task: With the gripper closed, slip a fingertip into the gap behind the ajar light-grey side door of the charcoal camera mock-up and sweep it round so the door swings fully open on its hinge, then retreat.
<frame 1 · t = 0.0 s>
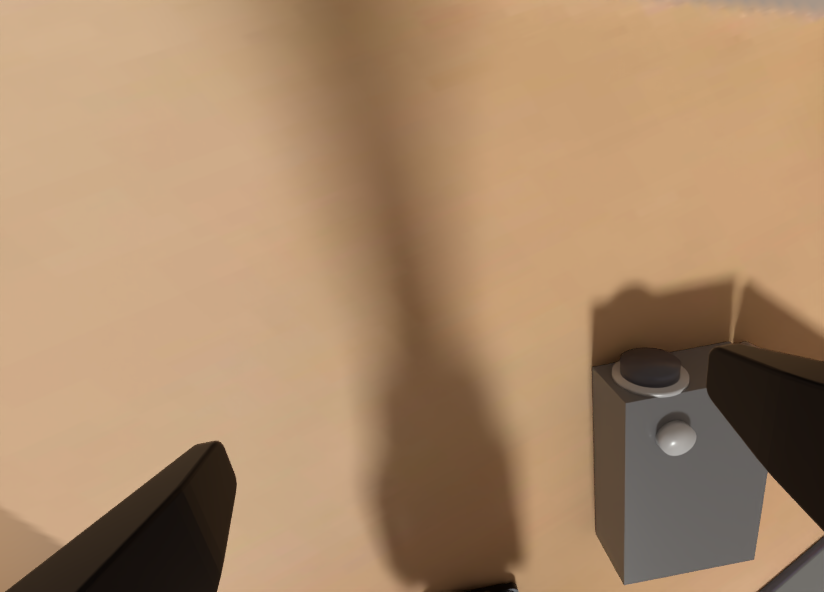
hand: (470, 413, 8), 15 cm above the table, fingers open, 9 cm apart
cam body: (656, 445, 28), on the table
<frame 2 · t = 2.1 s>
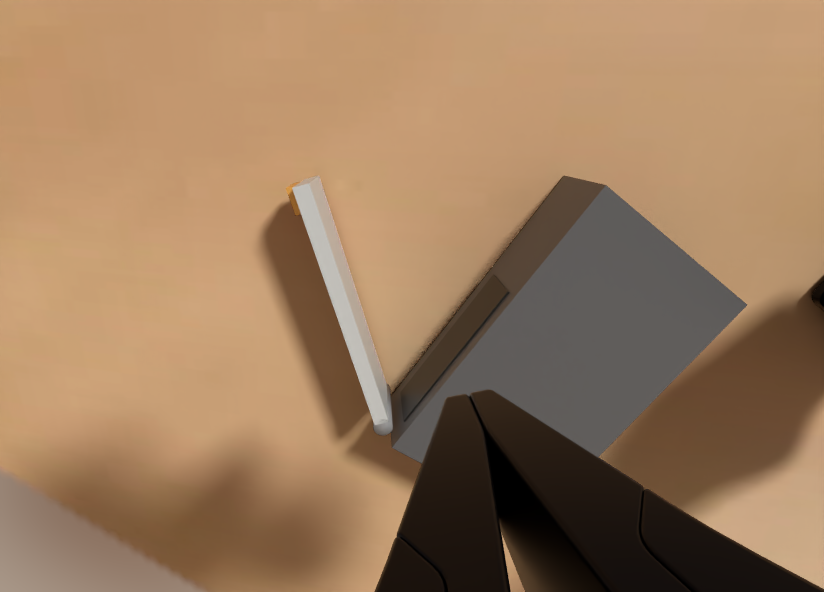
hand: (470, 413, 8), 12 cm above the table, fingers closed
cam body: (534, 339, 21), on the table
side door: (346, 310, 18), point 2 cm above the table, hinge at 50.0°
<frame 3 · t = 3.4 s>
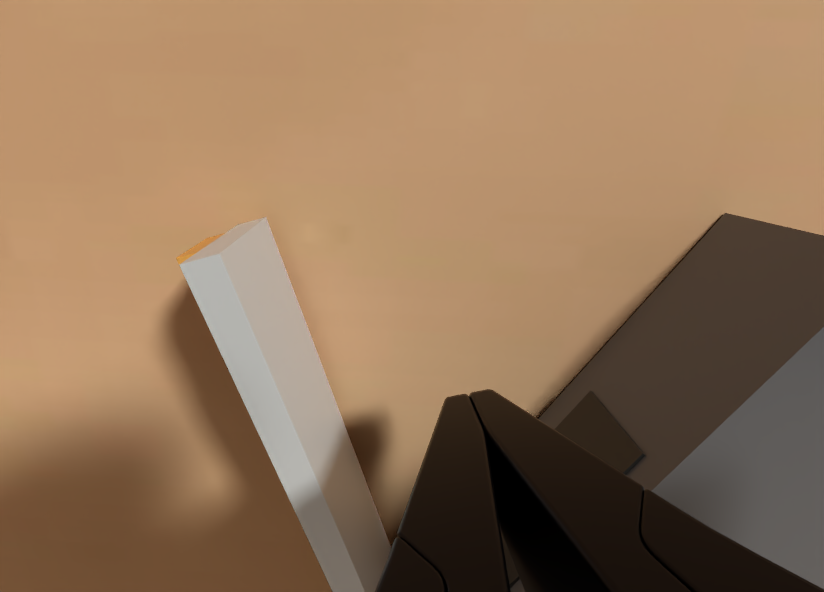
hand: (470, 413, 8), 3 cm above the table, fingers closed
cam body: (642, 480, 13), on the table
side door: (321, 471, 10), point 2 cm above the table, hinge at 50.0°
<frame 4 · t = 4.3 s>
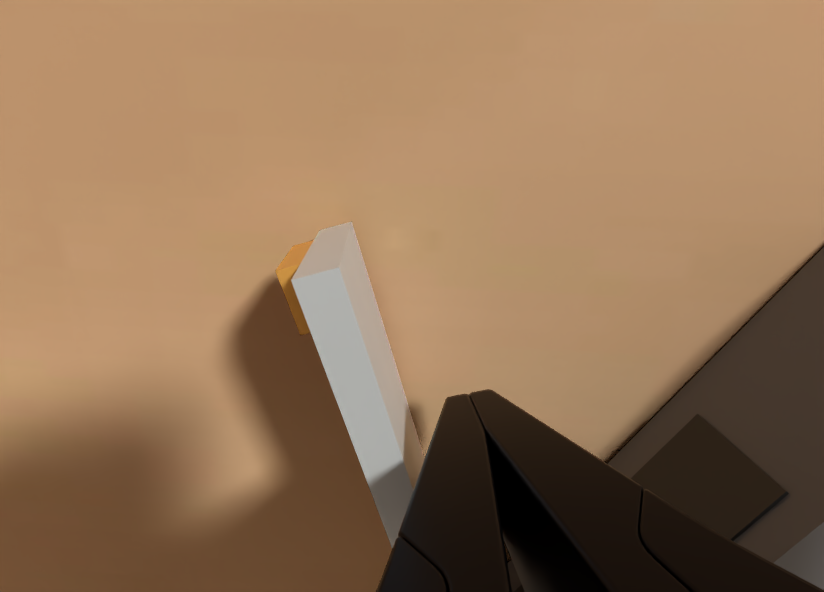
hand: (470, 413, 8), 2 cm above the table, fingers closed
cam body: (734, 506, 12), on the table
side door: (408, 506, 9), point 2 cm above the table, hinge at 50.1°, touching gripper
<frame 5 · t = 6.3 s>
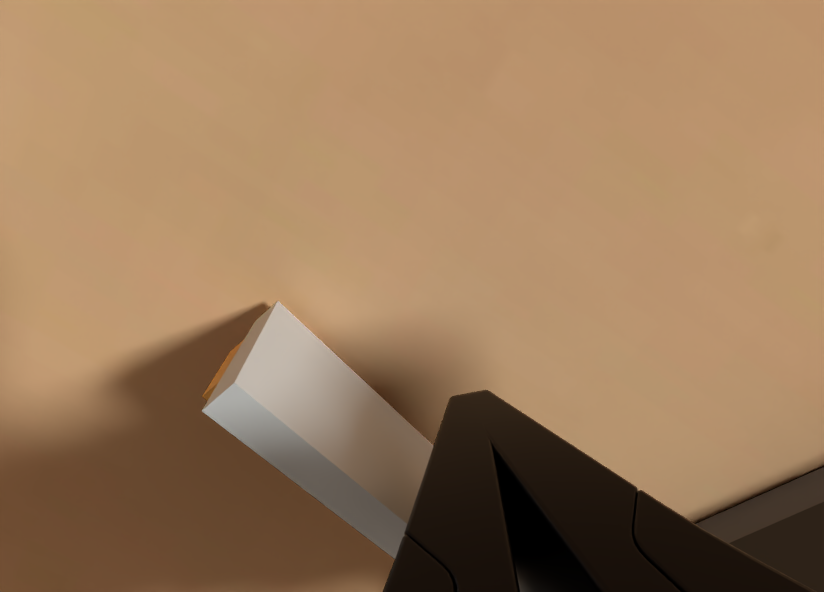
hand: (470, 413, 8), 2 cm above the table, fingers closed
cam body: (799, 579, 13), on the table
side door: (449, 527, 9), point 2 cm above the table, hinge at 103.1°, touching gripper
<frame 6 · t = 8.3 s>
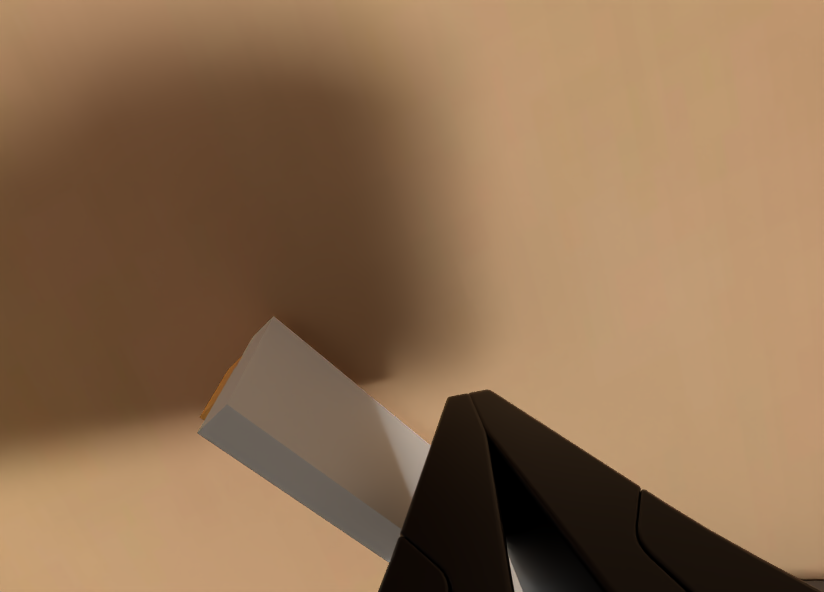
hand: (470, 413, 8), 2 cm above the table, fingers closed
side door: (454, 532, 9), point 2 cm above the table, hinge at 139.1°, touching gripper
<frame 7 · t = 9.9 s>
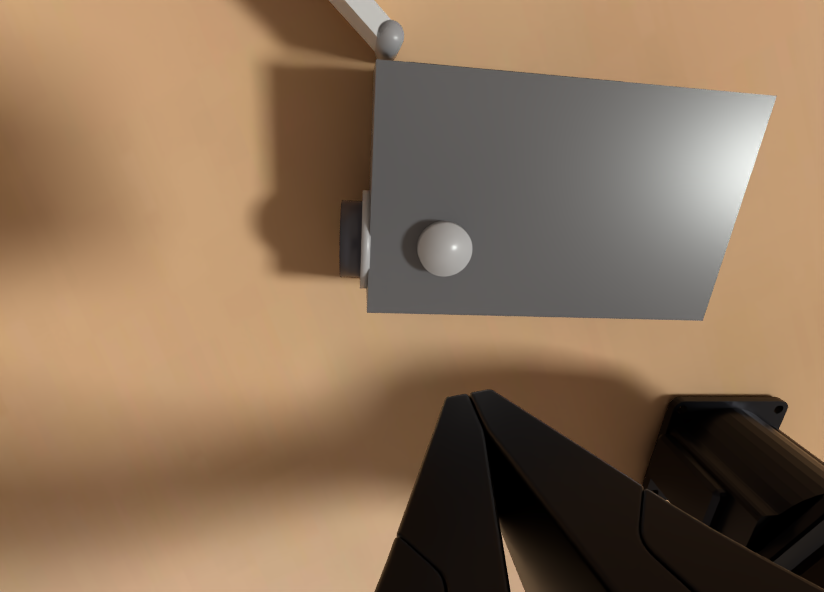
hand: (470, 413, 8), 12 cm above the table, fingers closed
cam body: (526, 193, 18), on the table
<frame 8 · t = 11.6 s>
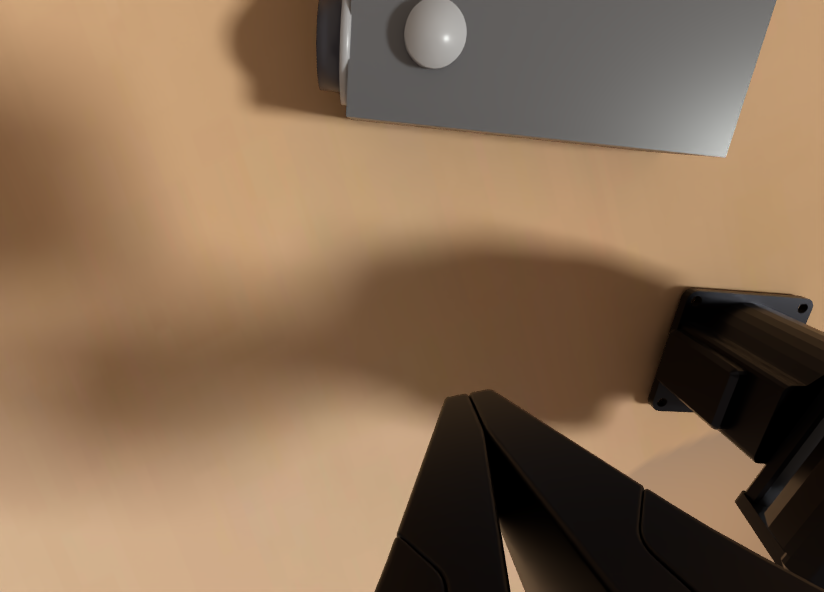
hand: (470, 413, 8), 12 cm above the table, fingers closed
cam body: (531, 23, 17), on the table
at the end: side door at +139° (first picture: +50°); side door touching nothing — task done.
